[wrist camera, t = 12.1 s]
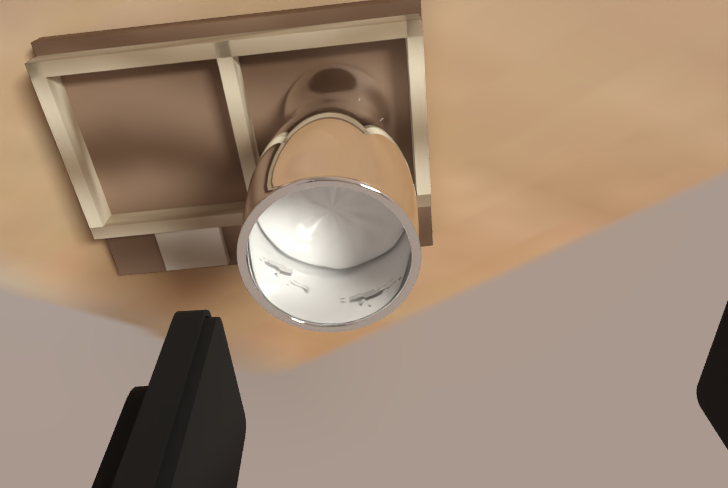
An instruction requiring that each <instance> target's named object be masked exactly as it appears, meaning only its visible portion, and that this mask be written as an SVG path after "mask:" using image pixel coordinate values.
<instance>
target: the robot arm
mask: <svg viewBox="0 0 728 488" xmlns="http://www.w3.org/2000/svg"><path fill="white" fill-rule="evenodd" d="M697 399H698V402H699V405H700V407H701V409H702V410H703V412H704V413H705V415H706V416H707V418H708V420H709V421H710V423H711V424H712V426H713V427H714V429H715V430H716V432H717V434H718V435H719V437H720V438H721V440H722V441H723V443H724V445H725V446H726V448H727V449H728V301H727V304H726V307H725V310H724V313H723V316H722V318H721V321H720V324H719V327H718V330H717V332H716V335H715V338H714V341H713V343H712V346H711V349H710V352H709V355H708V358H707V360H706V363H705V366H704V369H703V371H702V375H701V377H700V380H699V383H698V385H697ZM245 433H246V419H245V413H244V409H243V405H242V401H241V397H240V393H239V389H238V384H237V380H236V376H235V372H234V368H233V364H232V360H231V356H230V352H229V348H228V344H227V340H226V336H225V332H224V328H223V324H222V320H221V318H220V317H212V316H211V314H210V312H209V310H194V311H178V312H176V313H175V315H174V316H173V319H172V322H171V324H170V327H169V330H168V333H167V336H166V338H165V341H164V344H163V347H162V350H161V352H160V355H159V358H158V360H157V363H156V366H155V369H154V371H153V374H152V377H151V380H150V382H149V386H140V387H134V388H133V389H132V390H131V391H130V393H129V396H128V397H127V400H126V402H125V404H124V407H123V409H122V412H121V414H120V417H119V419H118V422H117V425H116V427H115V430H114V432H113V435H112V437H111V440H110V442H109V445H108V448H107V450H106V452H105V455H104V457H103V460H102V463H101V465H100V468H99V470H98V473H97V475H96V478H95V480H94V483H93V486H92V488H237V482H238V476H239V470H240V464H241V458H242V451H243V446H244V440H245Z"/></svg>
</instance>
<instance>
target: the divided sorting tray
mask: <svg viewBox="0 0 728 488" xmlns="http://www.w3.org/2000/svg"><path fill="white" fill-rule="evenodd" d="M31 45H32V48H33V50H34V53H35V55H36V57H35V58H33V59H31V60H30V61H28V62H26V63H25V66H26V68H27V71H28V73H29V76H30V78H31V81H32V83H33V86H34V88H35V91H36V93H37V96H38V98H39V101H40V104H41V106H42V109H43V111H44V114H45V116H46V119H47V121H48V124H49V126H50V129H51V131H52V134H53V136H54V139H55V141H56V144H57V146H58V149H59V151H60V154H61V156H62V159H63V162H64V164H65V167H66V169H67V172H68V174H69V177H70V179H71V182H72V184H73V187H74V189H75V192H76V194H77V197H78V199H79V202H80V204H81V207H82V209H83V212H84V214H85V217H86V219H87V222H88V225H89V227H90V230H91V232H92V235H93V237H94V239H104V238H106V240H107V243H108V245H109V248H110V250H111V253H112V256H113V258H114V261H115V263H116V266H117V269H118V271H119V274H120V276H121V275H131V274H142V273H152V272H162V271H173V270H183V269H193V268H204V267H214V266H224V265H235V264H238V262H237V243H238V238H239V234H240V231H241V225H242V217H243V211H244V205H245V200H246V196H247V192H248V188H249V184H250V180H251V177H252V175H253V172H254V170H255V167H256V165H257V163H258V160H259V158H260V156H261V154H262V153H263V151H264V149H265V148H266V147H267V145H268V144H269V142H270V141H271V139H272V138H273V137H274V135H275V134H276V133H277V132H278V131H279V130H280V128H281V127H282V126H283V108H284V103H285V99H286V97H287V94H288V92H289V91H290V89H291V87H292V86H293V85H294V83H295V82H296V81H297V80H298V79H299V78H300V77H301V76H303V75H304V74H305V73H307V72H309V71H310V70H312V69H315V68H317V67H320V66H324V65H331V64H340V65H348V66H352V67H355V68H357V69H360V70H362V71H363V72H365V73H367V74H368V75H369V76H371V77H372V78H373V79H374V80H375V81H376V82H377V83H378V84H379V85H380V87H381V88H382V90H383V91H384V93H385V95H386V97H387V99H388V102H389V106H390V113H391V123H390V129H389V133H390V134H391V136H392V137H393V138H394V140H395V141H396V143H397V145H398V146H399V148H400V150H401V152H402V154H403V156H404V158H405V160H406V162H407V164H408V167H409V170H410V173H411V177H412V180H413V184H414V187H415V192H416V199H417V206H418V218H419V241H420V247H421V246H431V245H433V241H432V221H431V188H430V168H429V148H428V127H427V107H426V86H425V66H424V45H423V25H422V18H421V0H370V1H361V2H352V3H343V4H334V5H325V6H317V7H308V8H299V9H290V10H281V11H272V12H263V13H254V14H245V15H236V16H228V17H219V18H210V19H201V20H192V21H183V22H174V23H165V24H156V25H148V26H139V27H130V28H121V29H112V30H103V31H94V32H85V33H76V34H67V35H59V36H50V37H41V38H39V39H37V40H35V41H33V42H31Z"/></svg>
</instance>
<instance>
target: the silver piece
mask: <svg viewBox="0 0 728 488" xmlns="http://www.w3.org/2000/svg"><path fill="white" fill-rule="evenodd" d="M390 123H391V113H390V106H389V102H388V99H387V97H386V95H385V93H384V91H383V90H382V88H381V87H380V85H379V84H378V83H377V82H376V81H375V80H374V79H373V78H372V77H371V76H369V75H368V74H367V73H365V72H363V71H362V70H360V69H357V68H355V67H352V66H348V65H340V64H331V65H324V66H320V67H317V68H315V69H312V70H310V71H309V72H307V73H305V74H304V75H303V76H301V77H300V78H299V79H298V80H297V81H296V82H295V83H294V85H293V86H292V87H291V89H290V91H289V92H288V94H287V97H286V99H285V103H284V108H283V126H282V127H281V128H280V130H279V131H278V132H277V133H276V134H275V135H274V137H273V138H272V139H271V141H270V142H269V144H268V145H267V147H266V148H265V149H264V151H263V153H262V154H261V156H260V158H259V160H258V163H257V165H256V167H255V170H254V172H253V175H252V177H251V180H250V184H249V188H248V192H247V196H246V200H245V205H244V211H243V217H242V225H241V231H240V234H239V238H238V243H237V262H238V268H239V272H240V275H241V278H242V280H243V282H244V284H245V286H246V288H247V290H248V291H249V293H250V294H251V295H252V297H253V298H254V299H255V300H256V301H257V302H258V303H259V304H260V305H261V306H262V307H263V308H264V309H265V310H266V311H268V312H269V313H270V314H272V315H273V316H275V317H276V318H278V319H280V320H282V321H284V322H286V323H288V324H291V325H293V326H296V327H299V328H303V329H307V330H312V331H319V332H342V331H349V330H354V329H358V328H362V327H365V326H367V325H370V324H372V323H375V322H377V321H379V320H381V319H382V318H384V317H386V316H387V315H389V314H390V313H391V312H393V311H394V310H395V309H396V308H397V307H398V306H399V305H400V304H401V303H402V302H403V301H404V300H405V299H406V297H407V296H408V295H409V293H410V292H411V290H412V288H413V286H414V284H415V282H416V280H417V277H418V274H419V270H420V264H421V247H420V241H419V218H418V206H417V199H416V192H415V187H414V184H413V180H412V177H411V173H410V170H409V167H408V164H407V162H406V160H405V158H404V156H403V154H402V152H401V150H400V148H399V146H398V145H397V143H396V141H395V140H394V138H393V137H392V136H391V134H390V133H389V129H390Z"/></svg>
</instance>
